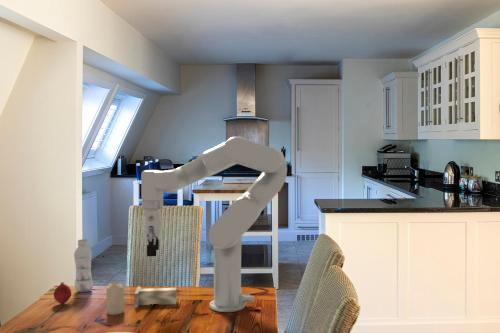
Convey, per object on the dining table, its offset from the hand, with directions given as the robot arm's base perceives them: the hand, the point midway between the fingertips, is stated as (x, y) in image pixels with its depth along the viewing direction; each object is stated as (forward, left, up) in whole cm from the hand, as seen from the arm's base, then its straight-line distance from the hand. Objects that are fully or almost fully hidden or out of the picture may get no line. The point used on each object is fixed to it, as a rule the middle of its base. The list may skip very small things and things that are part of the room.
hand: (153, 252), depth 172 cm
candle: (+12, +8, -18) cm, 23 cm away
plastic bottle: (+28, -16, -18) cm, 37 cm away
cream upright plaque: (0, 0, -18) cm, 18 cm away
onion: (+32, -2, -18) cm, 37 cm away
